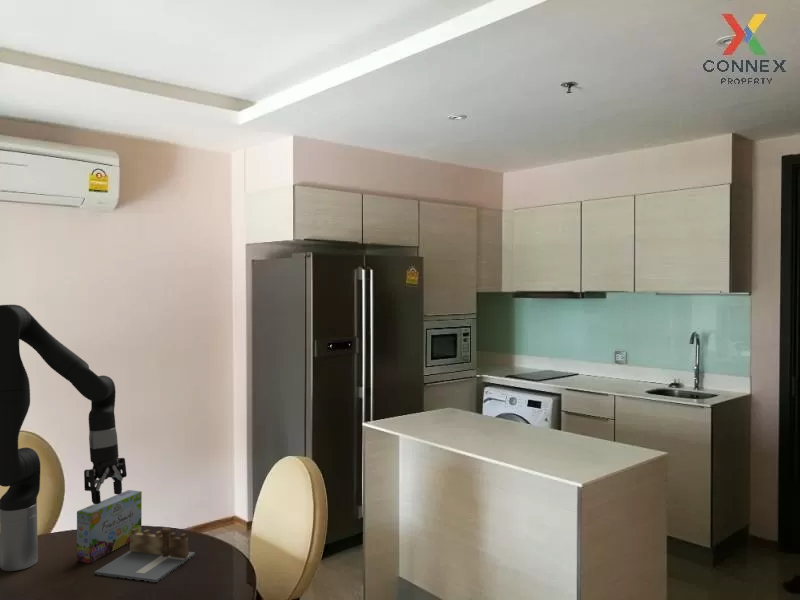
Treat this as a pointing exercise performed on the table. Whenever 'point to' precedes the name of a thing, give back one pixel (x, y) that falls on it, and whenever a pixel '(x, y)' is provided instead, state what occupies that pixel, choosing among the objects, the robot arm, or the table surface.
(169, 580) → the table surface
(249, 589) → the table surface
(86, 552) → the snack box
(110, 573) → the board
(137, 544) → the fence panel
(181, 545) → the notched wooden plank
